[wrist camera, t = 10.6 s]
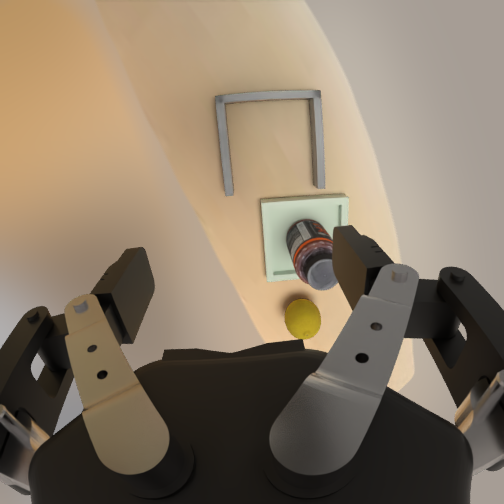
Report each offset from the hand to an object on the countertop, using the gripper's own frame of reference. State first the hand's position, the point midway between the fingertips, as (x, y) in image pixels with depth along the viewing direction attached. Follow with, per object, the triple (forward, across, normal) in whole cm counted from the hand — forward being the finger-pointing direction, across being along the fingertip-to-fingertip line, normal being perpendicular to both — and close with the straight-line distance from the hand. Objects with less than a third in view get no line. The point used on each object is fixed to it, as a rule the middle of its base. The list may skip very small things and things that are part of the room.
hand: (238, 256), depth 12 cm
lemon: (+28, -7, +24) cm, 37 cm away
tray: (+28, -8, +12) cm, 31 cm away
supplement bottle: (+27, -8, +12) cm, 31 cm away
